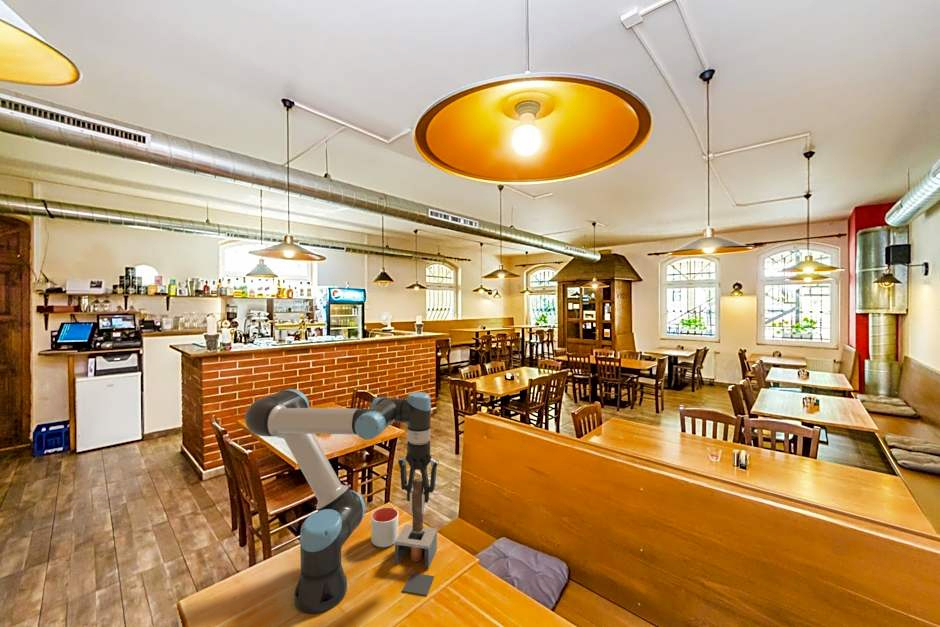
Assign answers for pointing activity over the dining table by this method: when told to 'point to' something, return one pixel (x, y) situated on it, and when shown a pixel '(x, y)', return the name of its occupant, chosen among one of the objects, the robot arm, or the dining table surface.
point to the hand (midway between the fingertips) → (417, 510)
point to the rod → (417, 505)
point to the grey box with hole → (416, 543)
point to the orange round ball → (416, 553)
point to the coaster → (418, 584)
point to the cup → (384, 527)
